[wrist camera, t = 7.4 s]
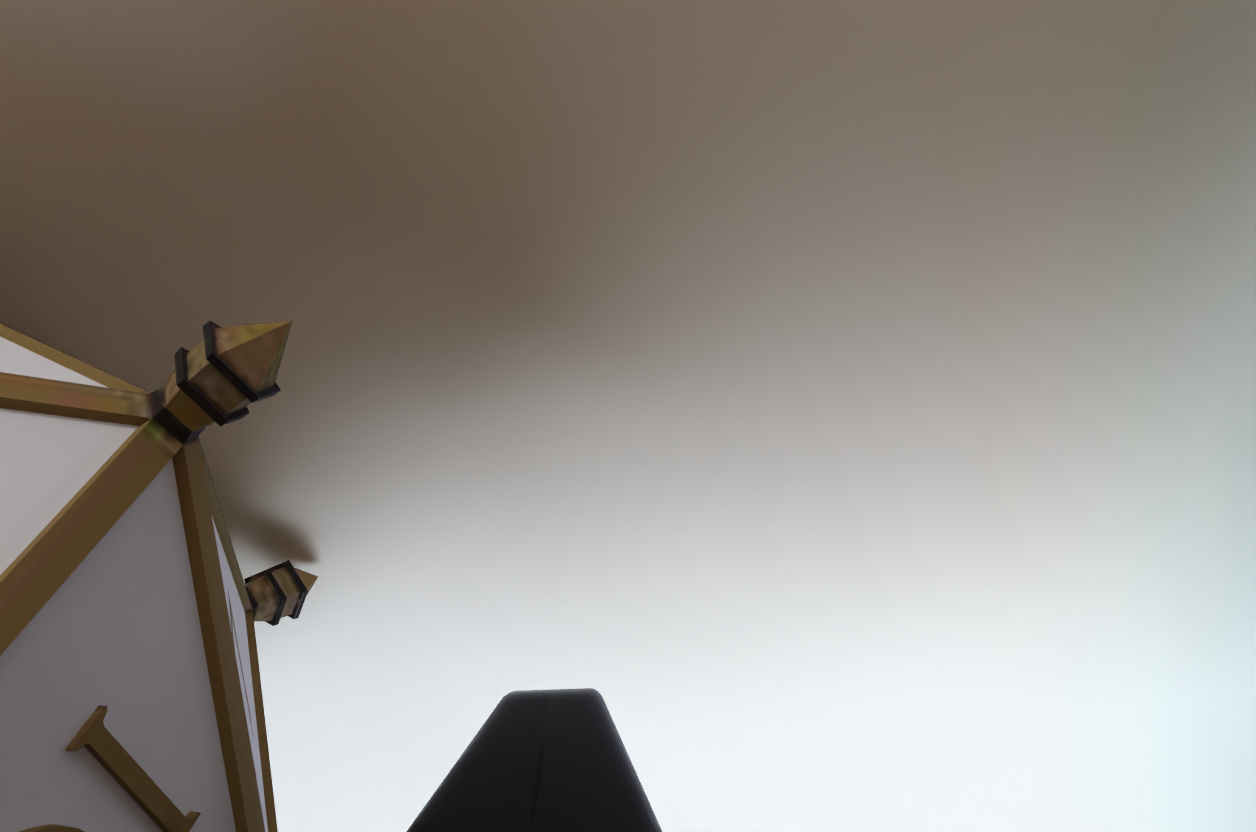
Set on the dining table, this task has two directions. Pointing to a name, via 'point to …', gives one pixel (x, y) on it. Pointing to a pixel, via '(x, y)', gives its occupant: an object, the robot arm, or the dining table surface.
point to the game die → (131, 596)
